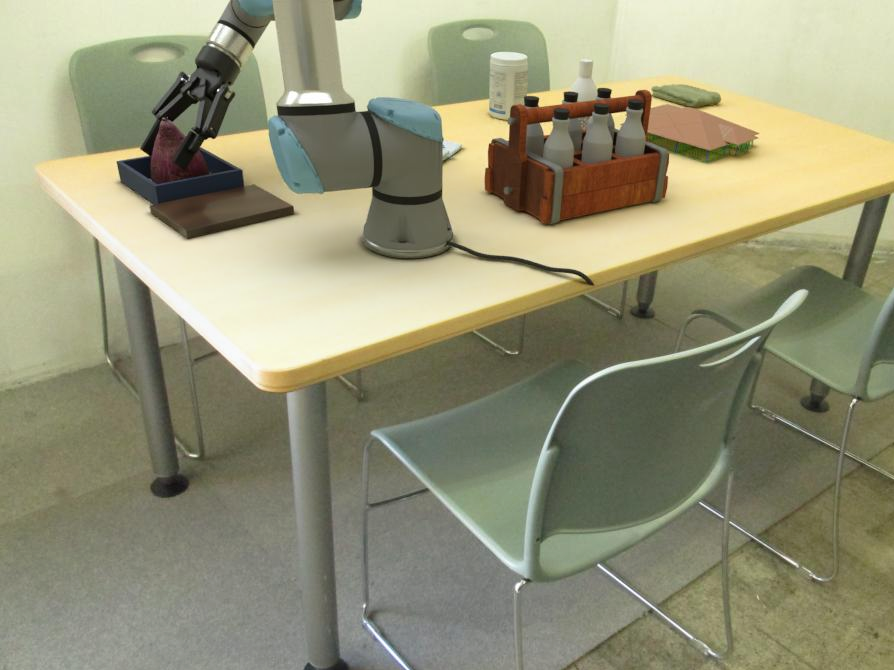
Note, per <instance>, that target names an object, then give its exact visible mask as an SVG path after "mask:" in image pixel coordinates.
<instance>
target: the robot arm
mask: <svg viewBox="0 0 894 670" xmlns="http://www.w3.org/2000/svg"><path fill="white" fill-rule="evenodd" d="M362 4H363V0H229V1H228V3H227V4H226V6H225V8H224V9H223V11H222V14H221V15H220V17H219V19H218V20H217V22H216V23H215V25H214V26H213V28H212V30H211V32H210V33H209V34H208V36H207V37H206V39H205V45H202V47H201V49H200V50H199V52H198V53H197V55H196V56H195V58H194V63H195V65H196V69H195V70H194V71H193V72H192V73H191V74H187V73H185V71H180V72H179V73H178V75H177V77H176V79H175V81H174V82H173V84H172V85H171V86H170V87H169V89H168V90H167V91H166V93H164V94H163V96H162V97H161V99H160V100H159V101H158V102H157V103H156V105H155V106H154V107H153V108H152V109H151V114H152V115H153V116H154V117H155V121H154V123H153V125H152V127H151V128H150V130H149V132H148V134H147V136H146V138H145V139H144V141H143V142H142V144H141V146H140V148H139V150H140V151H142V153H143V152H144V154H146V155H147V156H150V157H152V152H153V147H154V143H155V140H156V137H157V135H158V132H159V128H160V123H161V121H163V119H162V118H165V119H167V120H169V121H171V122H173V123H174V121H175V120H176V119H178V118H179V117H180V116H181V115H182V114H183V113H184V112H185V111H187V110H188V109H189V108H190V107H191V106H192V105H197V104H198V103H199V104H198V109H197V115H196V120H195V125H194V126H193V127H191V130H189V131H188V133H187V135H185V136H186V138H185V140H184V141H183V143H182V145H181V147H180V148H179V150H178V152H177V153H176V155H175V157H174V158H173V160H172V162H174V163H175V164H176V165H178V166H179V167H181V168H182V169H184V170H186V168H187V167H188V165H189V163H190V162H191V160H192V158H193V157H194V155H195V154H196V153H197V152H198V150H199V148H200V147H202V145H203V143H204V141H207V140H208V139H212V140H215V139H216V138H217V137H218V135H219V133H220V129H221V127H222V125H223V122H224V119H225V117H226V114H227V112H228V109H229V107H230V104H231V102H232V101H233V99H234V98H235V96H236V92H235V91H234V90H233V89H232V88H230V87H233V86H234V84H235V82H236V80H237V79H238V77H239V76H240V74H241V68H244V66H245V64H246V63H247V61H248V60H249V57H250V55H251V54H252V53H253V51H254V49H255V47H256V45H257V43H258V42H259V41H260V39H261V37H262V36H263V34H264V32H265V31H266V30H267V28H268V26H269V25H270V23H271V22H274V23H275V31H276V36H277V37H276V38H277V45H278V51H279V58H280V59H279V60H280V66H281V72H282V79H283V87H284V90H283V94H282V95H281V96H280V97H279V99H278V100H277V101H276V103H275V105H276V111H277V112H276V113H277V115H272V117H269V118H268V122H267V130H268V138H269V143H270V147H271V151H272V154H273V157H274V160H275V164H276V167H277V169H278V171H279V174H280V176H281V178H282V180H283V182H284V184H285V185H286V186H287V187H288V189H289V190H290V191H292V192H294V193H295V194H298V195H303V194H304V195H307V194H309V195H310V194H318V195H323V194H324V193H333V192H340V191H341V192H342V191H351V190H361V189H370V188H371V201H370V203H369V208H368V212H367V216H366V220H365V223H364V225H363V229H362V239H363V240H362V241H363V244H364V246H365V247H366V249H369V250H370V251H372V252H374V253H376V254H379V255H381V256H385V257H391V258H396V259H423V258H428V257H429V258H430V257H434V256H437V255H440V254H442V253H444V252H446V251H448V250H449V249H451V247H453V248H455V249H458V250H460V251H462V252H465V253H467V254H470V255H472V256H473V257H477V258H481V259H487V260H496V261H508V262H515V263H520V264H524V265H527V266H531V267H533V268H535V269H536V268H537V269H540V270H543V271H547V272H551V273H561V274H562V273H563V274H571V275H574V276H575V275H576V276H578V277H580V278H581V279H582V280H584V281H585V282H586V283H587V285H589V286H592V287H593V286H595V283H594V282H593V281H592V279H591V278H590V277H589V276H587V274H585V273H584V272H582V271H580V270H577V269H573V268H566V267H565V268H564V267H553V266H548V265H545V264H541V263H539V262H535V261H532V260H529V259H525V258H521V257H516V256H510V255H497V254H489V253H488V254H487V253H482V252H479V251H476V250H474V249H472V248H469V247H467V246H465V245H462V244H459V243H456V242H455V241H454V232H453V228H452V225H451V221H450V218H449V215H448V212H447V208H446V205H445V202H444V198H443V163H444V161H443V141H445V138H444V137H443V120H442V116H441V115H440V113H439V112H438V111H437V110H436V109H435V108H433V107H432V106H430V105H427V104H426V103H425V104H424V103H422V102H419V101H415V100H411V99H407V98H406V99H405V98H400V97H389V96H388V97H387V96H385V97H384V96H382V97H381V96H379V97H376V98H373V97H372V98H371V99H369V101H368V103H367V105H366V109H367V110H363V111H357V110H356V101H355V99H354V98H353V97H352V96H351V95H350V94H349V93H348V92H347V91H346V90H345V88H344V84H343V76H342V67H341V60H340V59H341V58H340V49H339V41H338V32H337V24H336V21H337V22H338V21H339V22H341V21H344V20H353V19H357V18H358V17H359V16H360V15H361V12H362V10H363V9H362V8H363V7H362Z"/></svg>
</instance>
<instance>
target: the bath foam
mask: <svg viewBox="0 0 894 670" xmlns="http://www.w3.org/2000/svg"><path fill="white" fill-rule="evenodd" d="M593 67H594V60H593V59H590V58H580V59H579V67H578V76H577V78H576V79H575V81H574V83H573V84H572V85H571V87H570V89H569V91H570V92H576V93H578V94H579V95H578V99H577V101H578V102H585V101H593V100H596V96H597V89H598V88H597V86H596V84H595V82H594V79H593V78H592V77H593ZM589 118H590V116H589V117H581V118H579V121H580V123H581V127H582V130H586V129H587V122H588V120H589Z"/></svg>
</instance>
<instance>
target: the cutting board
mask: <svg viewBox="0 0 894 670" xmlns="http://www.w3.org/2000/svg"><path fill="white" fill-rule="evenodd" d="M149 209H150V214H151V215H153V216H154V217H156V218H157V219H159V220H160V221H161V222H163V223H165V224H166V225H167V226H168V227H170V228H171V229H173V230H174V231H176V232H177V233H178V234H180V235H181V236H183V237H185V238H186V239H192V238H196V237H200V236H205V235H209V234H213V233H217V232H222V231H226V230H230V229H235V228H240V227H244V226H249V225H252V224H256V223H261V222H264V221H269V220H275V219H278V218H283V217H286V216H290V215H291V216H292V215H294V214H295V208H294V205H293V204H291V203H289V202H287V201H286V200H283V199H281V198H279V197H278V196H277V195H275V194H273V193H271V192H269V191H268V190H266V189H264V188H262V187H260V186H259V185H256V184H254V183H251V184H247V185H244V186H243V187H238V188H233V189H228V190H223V191H218V192H213V193H208V194H203V195H198V196H193V197H189V198H184V199H179V200H174V201H169V202H164V203H159V204H150V205H149Z"/></svg>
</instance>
